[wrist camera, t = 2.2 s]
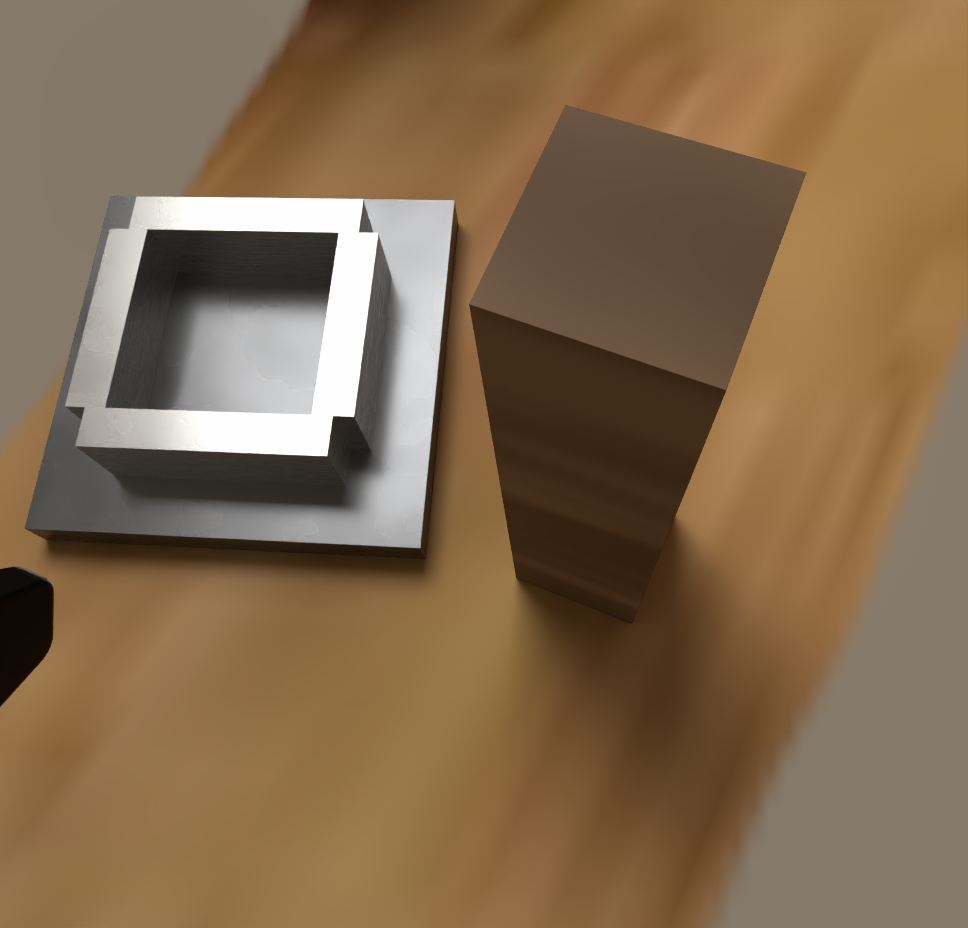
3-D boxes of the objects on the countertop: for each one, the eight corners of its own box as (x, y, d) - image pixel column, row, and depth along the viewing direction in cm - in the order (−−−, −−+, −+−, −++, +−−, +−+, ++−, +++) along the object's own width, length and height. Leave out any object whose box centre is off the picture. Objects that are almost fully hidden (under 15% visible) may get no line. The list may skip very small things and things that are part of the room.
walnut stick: (631, 623, 22) (725, 389, 10) (516, 577, 22) (469, 304, 10) (673, 512, 23) (806, 173, 11) (560, 471, 23) (565, 105, 11)
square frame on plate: (425, 558, 23) (407, 523, 20) (45, 539, 24) (-23, 503, 21) (457, 222, 26) (446, 152, 23) (125, 217, 27) (76, 149, 24)
